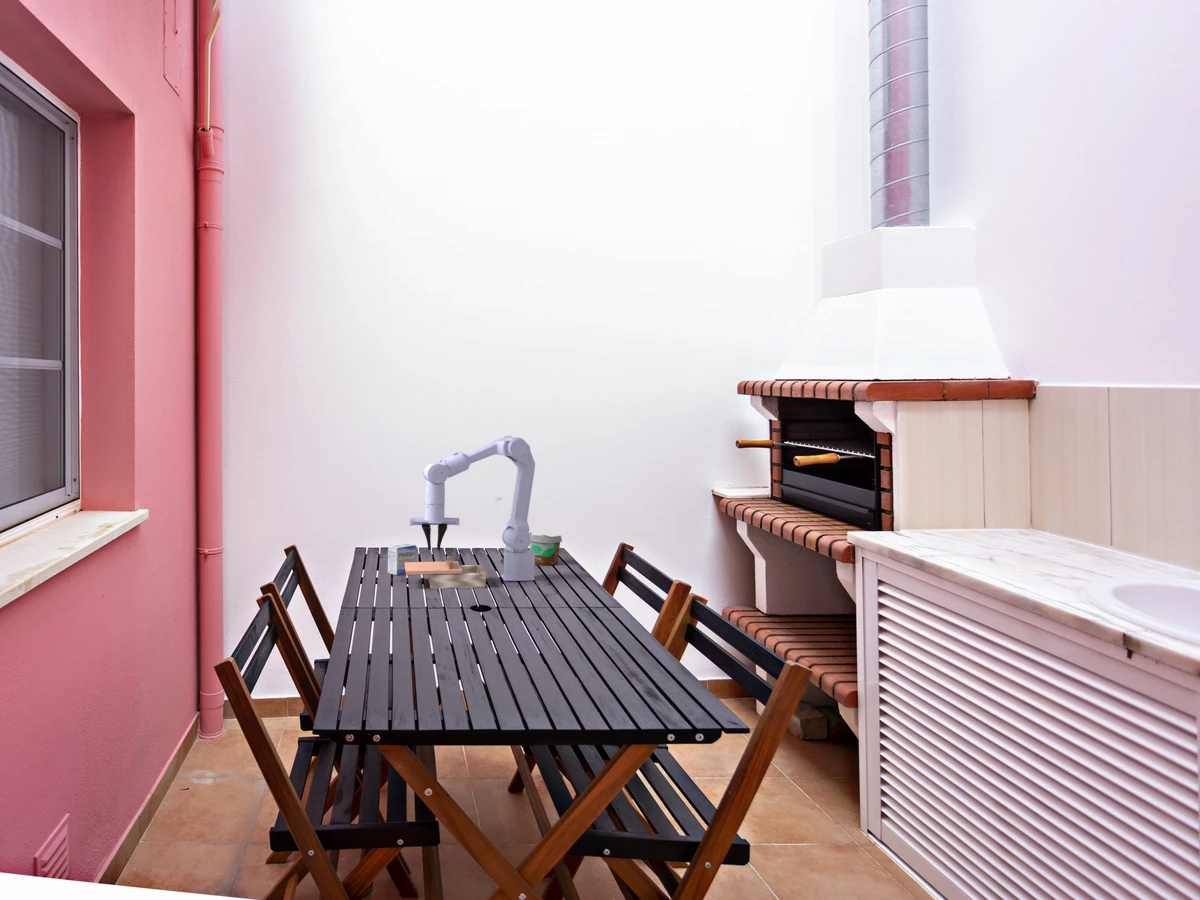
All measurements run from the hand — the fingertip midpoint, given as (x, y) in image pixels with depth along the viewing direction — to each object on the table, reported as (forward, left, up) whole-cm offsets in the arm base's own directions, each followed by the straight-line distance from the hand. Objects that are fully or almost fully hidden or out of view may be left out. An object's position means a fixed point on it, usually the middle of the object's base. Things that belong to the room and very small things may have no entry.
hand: (433, 549), depth 261 cm
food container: (-37, -26, -11) cm, 46 cm away
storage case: (-7, 0, -10) cm, 12 cm away
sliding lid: (0, 0, -6) cm, 6 cm away
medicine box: (+9, -17, -11) cm, 22 cm away
